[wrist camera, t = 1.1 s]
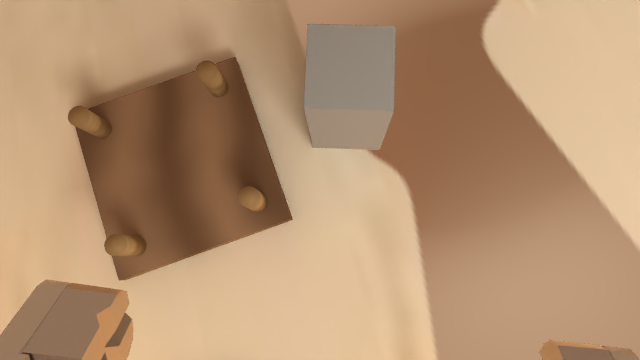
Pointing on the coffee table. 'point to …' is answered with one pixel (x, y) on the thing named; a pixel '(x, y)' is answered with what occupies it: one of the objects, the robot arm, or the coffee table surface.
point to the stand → (179, 168)
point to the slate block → (349, 85)
